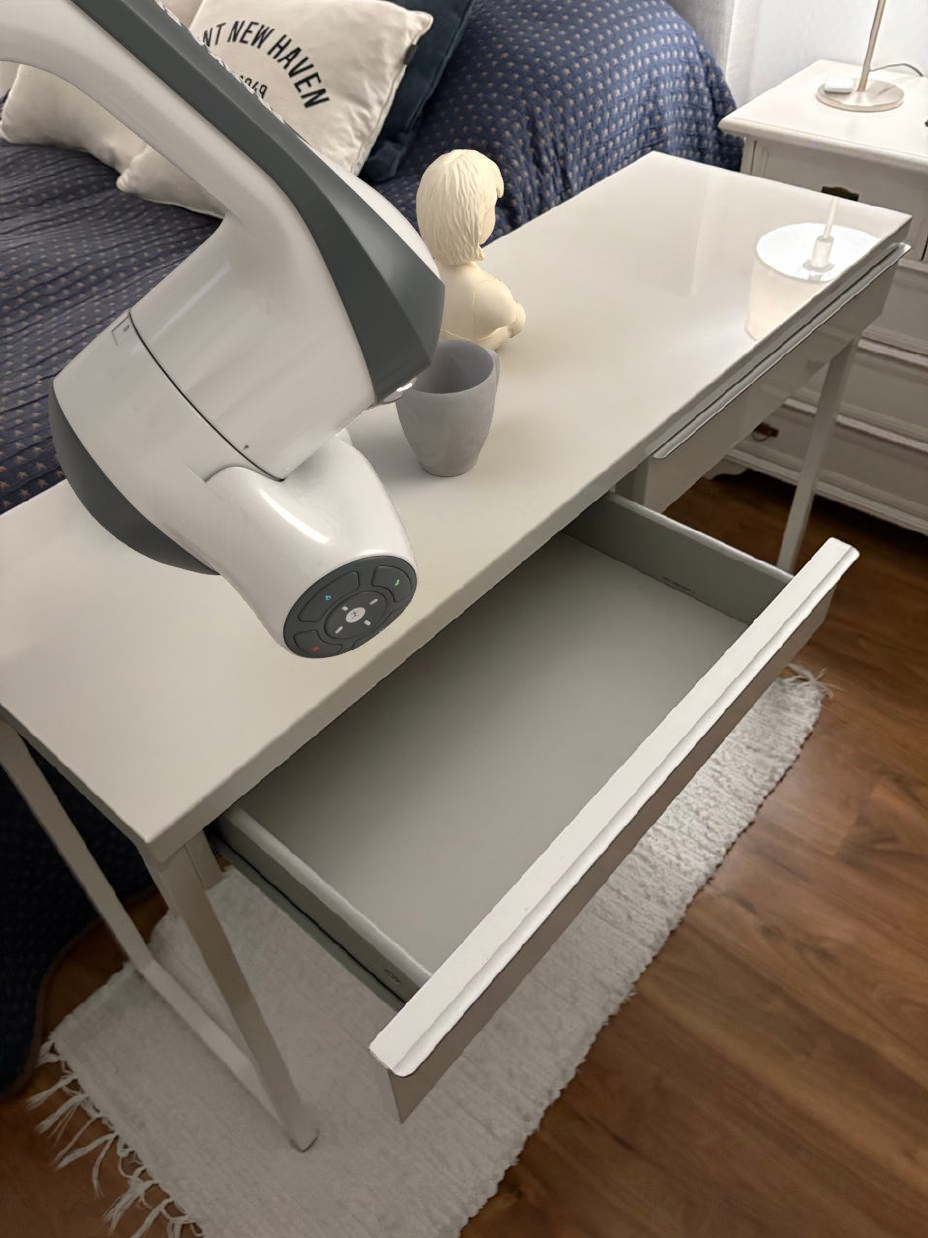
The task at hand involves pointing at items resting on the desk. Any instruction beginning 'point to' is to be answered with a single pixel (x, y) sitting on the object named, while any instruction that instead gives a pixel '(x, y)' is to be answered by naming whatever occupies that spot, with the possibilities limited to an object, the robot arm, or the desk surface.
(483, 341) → the figurine
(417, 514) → the desk surface
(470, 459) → the mug
